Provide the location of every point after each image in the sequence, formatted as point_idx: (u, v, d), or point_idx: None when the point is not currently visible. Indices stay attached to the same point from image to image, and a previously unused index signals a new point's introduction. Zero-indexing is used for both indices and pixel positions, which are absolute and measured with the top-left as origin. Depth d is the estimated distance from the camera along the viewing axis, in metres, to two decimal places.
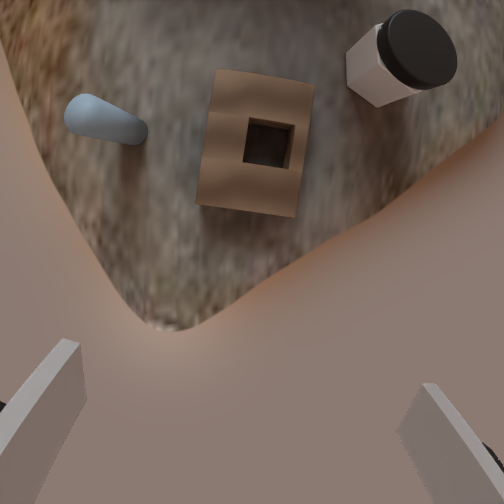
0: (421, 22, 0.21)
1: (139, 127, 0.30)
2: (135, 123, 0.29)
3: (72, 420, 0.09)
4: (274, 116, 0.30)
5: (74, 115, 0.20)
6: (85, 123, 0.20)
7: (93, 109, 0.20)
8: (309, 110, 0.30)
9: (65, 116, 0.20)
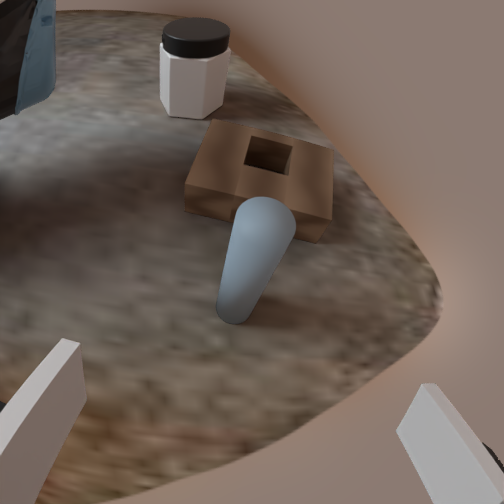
0: (175, 26, 0.31)
1: None
2: None
3: (72, 420, 0.09)
4: (243, 147, 0.32)
5: (266, 232, 0.16)
6: (281, 217, 0.17)
7: (262, 205, 0.17)
8: (237, 125, 0.34)
9: (265, 246, 0.16)
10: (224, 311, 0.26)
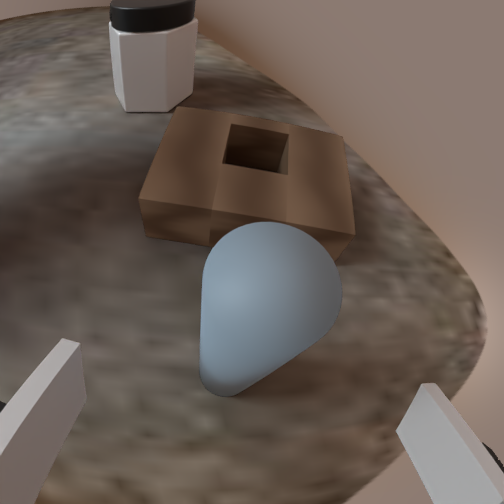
0: None
1: None
2: None
3: (72, 420, 0.09)
4: (220, 139, 0.23)
5: (279, 309, 0.07)
6: (308, 267, 0.07)
7: (264, 242, 0.08)
8: (211, 111, 0.24)
9: (281, 347, 0.06)
10: (212, 388, 0.16)
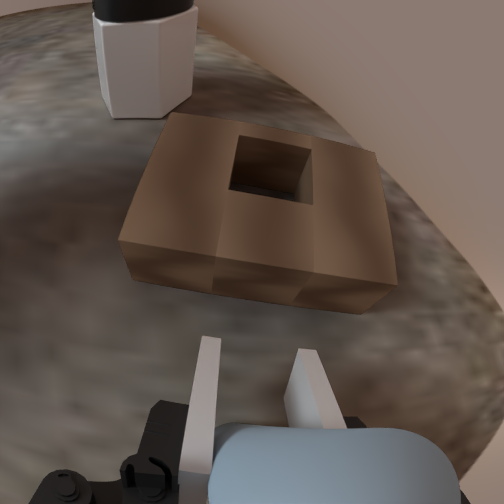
0: None
1: None
2: (239, 425, 0.11)
3: None
4: (226, 156, 0.18)
5: None
6: (418, 503, 0.03)
7: (346, 480, 0.03)
8: (213, 119, 0.19)
9: None
10: None
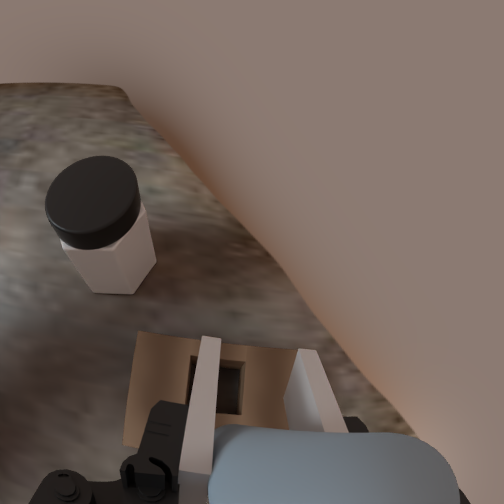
0: (60, 191, 0.22)
1: (241, 425, 0.12)
2: (239, 426, 0.11)
3: None
4: (181, 379, 0.24)
5: None
6: None
7: (346, 484, 0.03)
8: (171, 338, 0.26)
9: None
10: None
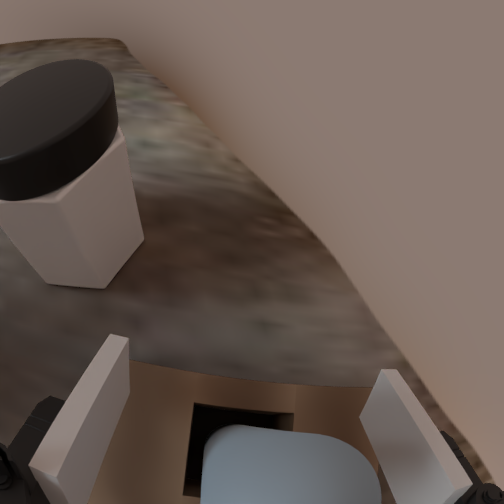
0: None
1: (236, 424, 0.14)
2: (233, 425, 0.13)
3: (119, 413, 0.10)
4: (177, 445, 0.12)
5: None
6: (342, 491, 0.04)
7: (283, 467, 0.04)
8: (158, 370, 0.14)
9: None
10: None
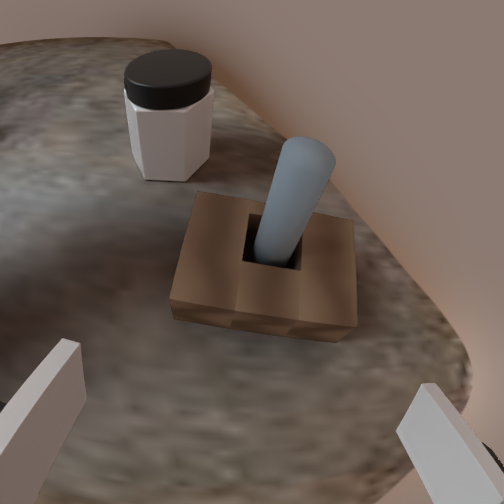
0: (140, 65, 0.25)
1: None
2: None
3: (72, 420, 0.09)
4: (240, 233, 0.26)
5: (311, 162, 0.17)
6: (321, 151, 0.18)
7: (303, 142, 0.18)
8: (230, 198, 0.27)
9: (313, 172, 0.17)
10: None
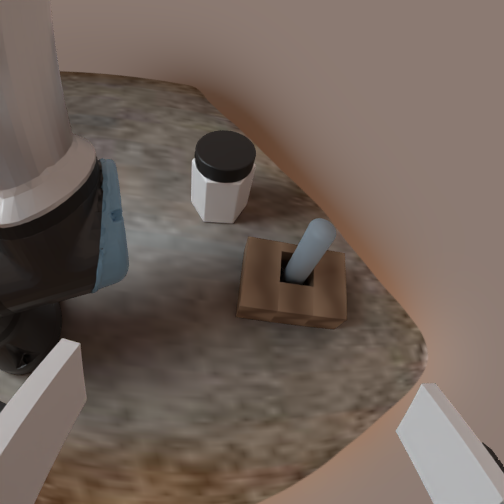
0: (206, 147, 0.41)
1: None
2: None
3: (72, 420, 0.09)
4: (277, 264, 0.43)
5: (323, 235, 0.34)
6: (329, 228, 0.35)
7: (319, 222, 0.35)
8: (269, 241, 0.44)
9: (324, 242, 0.34)
10: None
